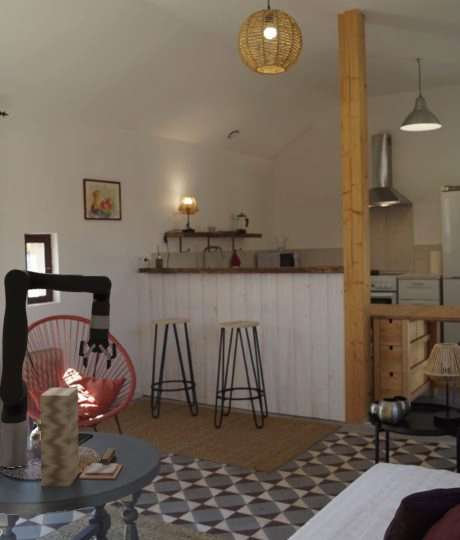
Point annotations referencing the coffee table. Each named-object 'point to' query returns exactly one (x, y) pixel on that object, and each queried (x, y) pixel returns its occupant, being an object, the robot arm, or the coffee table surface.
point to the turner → (103, 465)
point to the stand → (59, 436)
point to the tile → (100, 475)
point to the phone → (83, 437)
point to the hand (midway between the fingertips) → (96, 368)
